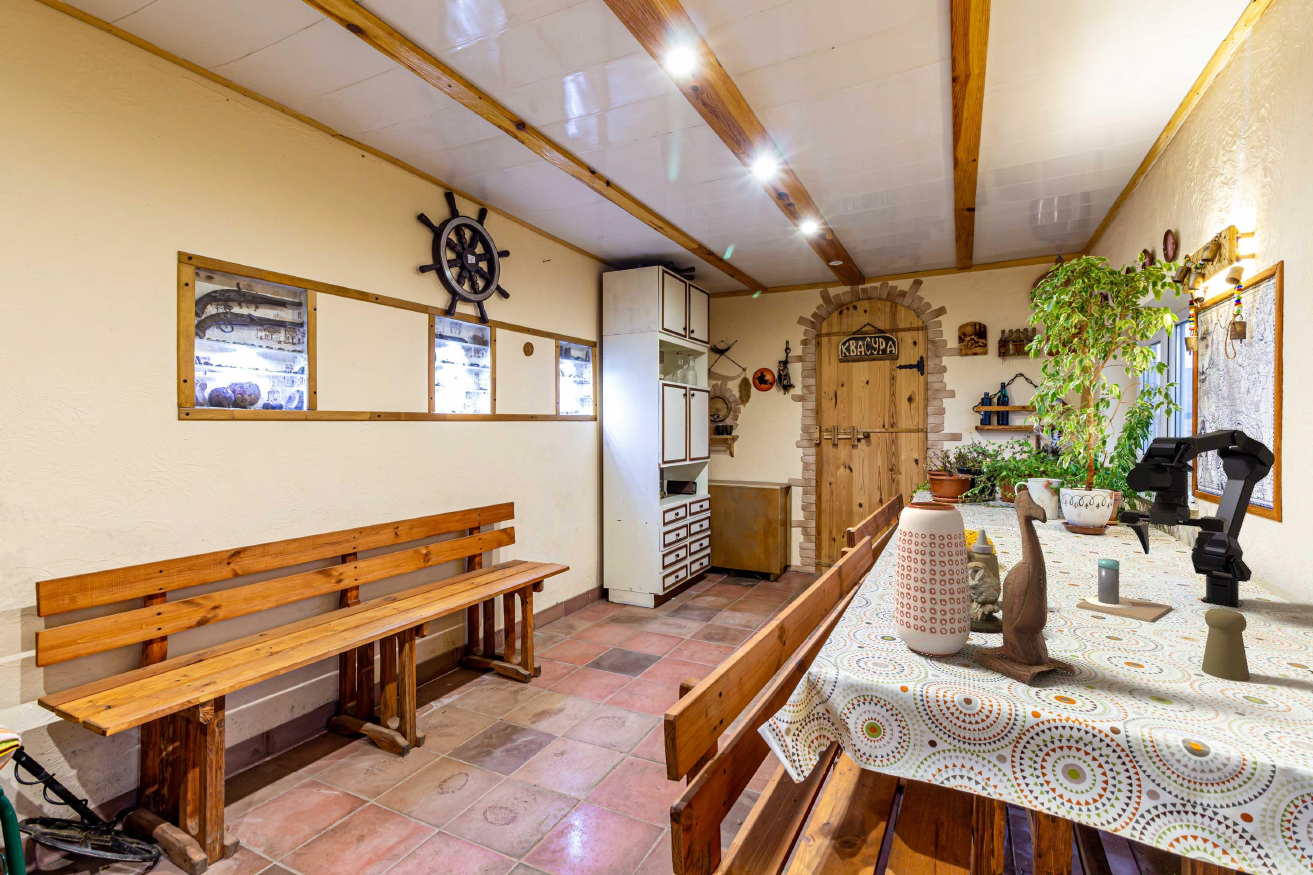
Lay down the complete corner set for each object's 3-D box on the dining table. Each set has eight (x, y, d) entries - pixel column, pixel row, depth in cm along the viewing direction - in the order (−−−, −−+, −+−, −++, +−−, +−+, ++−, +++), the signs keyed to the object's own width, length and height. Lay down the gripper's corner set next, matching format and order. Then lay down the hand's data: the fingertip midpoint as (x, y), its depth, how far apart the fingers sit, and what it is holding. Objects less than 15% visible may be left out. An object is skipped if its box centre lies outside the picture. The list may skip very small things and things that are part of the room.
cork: (1260, 682, 98) (1260, 616, 98) (1217, 679, 100) (1217, 614, 100) (1232, 668, 104) (1232, 605, 104) (1192, 665, 106) (1192, 604, 106)
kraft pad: (1098, 594, 150) (1098, 592, 150) (1172, 608, 139) (1172, 605, 139) (1073, 606, 141) (1073, 603, 141) (1150, 622, 129) (1150, 618, 129)
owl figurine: (907, 616, 136) (907, 542, 136) (935, 607, 142) (934, 536, 142) (989, 637, 121) (988, 554, 121) (1015, 626, 128) (1015, 547, 128)
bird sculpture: (1034, 690, 97) (1040, 496, 96) (971, 662, 108) (976, 488, 107) (1077, 678, 102) (1083, 493, 101) (1012, 653, 113) (1017, 486, 111)
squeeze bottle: (997, 600, 147) (997, 527, 147) (1005, 609, 139) (1004, 533, 139) (961, 597, 149) (960, 526, 149) (966, 606, 142) (966, 531, 142)
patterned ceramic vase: (939, 667, 106) (938, 510, 106) (880, 643, 118) (879, 503, 118) (986, 653, 112) (985, 505, 112) (925, 632, 124) (924, 498, 124)
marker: (1101, 598, 145) (1101, 557, 145) (1121, 602, 141) (1121, 560, 141) (1095, 601, 142) (1095, 560, 142) (1116, 605, 139) (1115, 563, 139)
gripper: (1111, 490, 141) (1111, 555, 141) (1217, 496, 126) (1217, 569, 126) (1126, 487, 148) (1126, 549, 148) (1229, 492, 133) (1229, 562, 133)
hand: (1171, 557), depth 139 cm, fingers open, 9 cm apart
